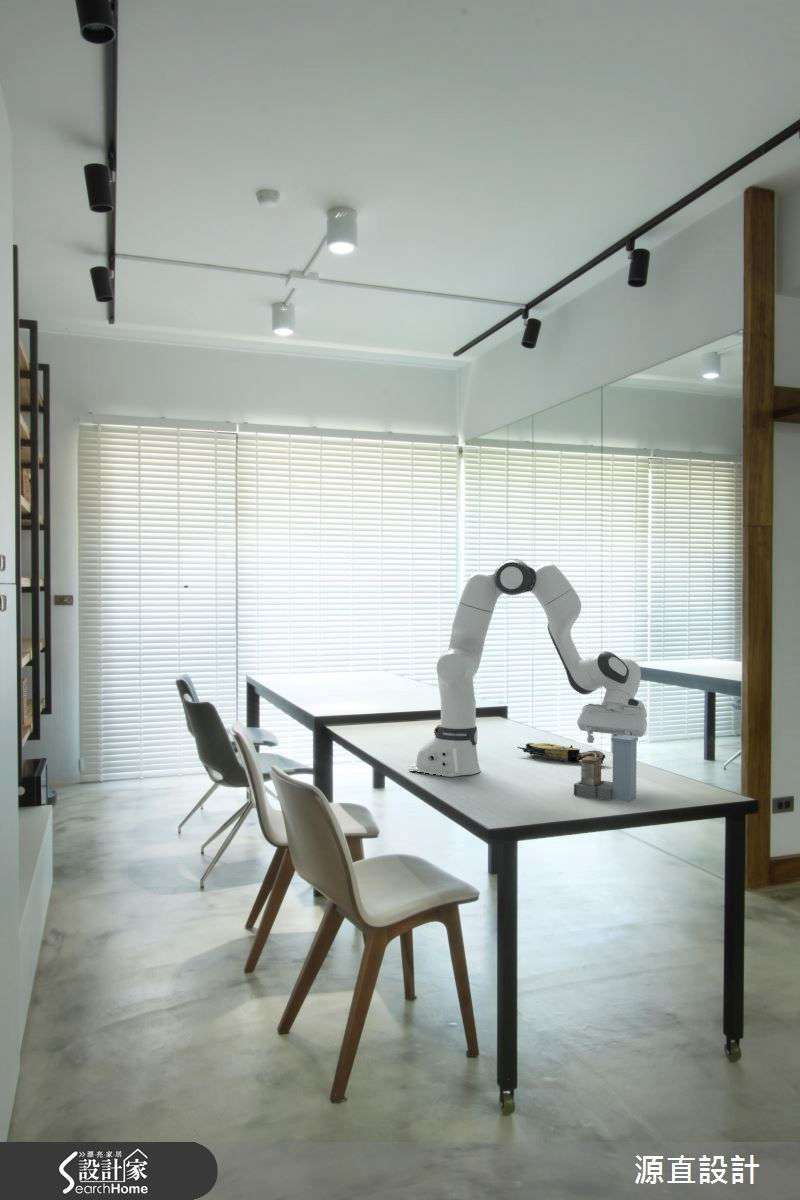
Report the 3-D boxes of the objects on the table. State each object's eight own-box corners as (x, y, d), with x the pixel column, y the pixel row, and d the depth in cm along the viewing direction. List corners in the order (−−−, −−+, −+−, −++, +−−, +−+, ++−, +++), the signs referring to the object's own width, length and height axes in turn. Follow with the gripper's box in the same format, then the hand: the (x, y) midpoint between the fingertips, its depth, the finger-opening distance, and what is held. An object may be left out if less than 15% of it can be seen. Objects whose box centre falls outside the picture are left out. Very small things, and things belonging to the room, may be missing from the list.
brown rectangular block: (580, 794, 238) (580, 759, 238) (587, 790, 242) (587, 756, 242) (594, 796, 236) (594, 761, 235) (601, 792, 240) (601, 757, 240)
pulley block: (591, 750, 268) (516, 738, 290) (589, 769, 268) (514, 755, 289) (615, 751, 278) (540, 739, 299) (613, 769, 277) (539, 755, 299)
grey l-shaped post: (573, 794, 238) (574, 734, 237) (585, 788, 245) (585, 730, 244) (629, 803, 229) (629, 740, 228) (639, 796, 236) (639, 735, 236)
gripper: (581, 697, 259) (568, 733, 252) (647, 702, 248) (636, 740, 240) (587, 709, 263) (574, 745, 255) (652, 715, 252) (641, 753, 244)
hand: (605, 743), depth 248 cm, fingers open, 8 cm apart
